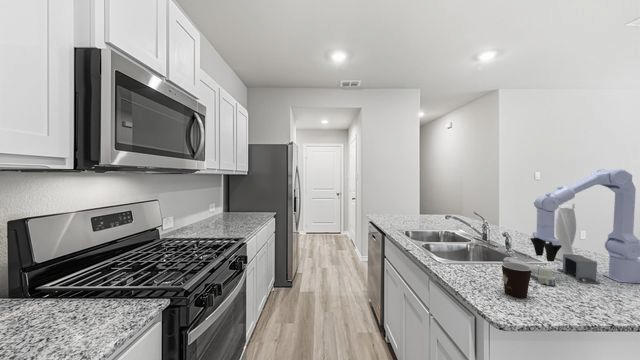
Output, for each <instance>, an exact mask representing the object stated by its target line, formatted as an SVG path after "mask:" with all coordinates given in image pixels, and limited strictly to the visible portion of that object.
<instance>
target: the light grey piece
mask: <svg viewBox="0 0 640 360" xmlns="http://www.w3.org/2000/svg"><path fill="white" fill-rule="evenodd" d="M505 262H511V263H519V264H523V265H526V266H529V267H531V268H532V270H531V274H535V275H536V276H535V277H536V278H537V282H538V283H539V284H540V285H544V284H546V285H547V286H556V280H557V277H556V276H554V273H553V270H552V269H551V268H550V267H544V266H543V267H541V266H539V265H535V264H532V263H529V262H526V261H522V260H520V259H517V258H515V257H509V256H504V257H503V258H502V263H505Z"/></svg>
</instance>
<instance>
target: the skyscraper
mask: <svg viewBox="0 0 640 360" xmlns="http://www.w3.org/2000/svg"><path fill="white" fill-rule="evenodd" d="M575 208H576V206H575V203H574V202H573V203H572V205H564V204H562V206H561V205H559V206H558V208H557V209H558V212H557V214H556V215H557V216H556V219H555V235H556V239H557V240H559V245H561V248H560V249H559V251H558V252H557V254H556V257H555V260H557V261H560V262H562V263H563V254H571V255H575V254H574V251H573V244H574V241H575V238H576V234H577V219H576V213H575Z"/></svg>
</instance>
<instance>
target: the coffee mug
mask: <svg viewBox="0 0 640 360" xmlns="http://www.w3.org/2000/svg"><path fill="white" fill-rule="evenodd" d="M501 270H502V271H501V272H502V280H503V289H504V294H505V295H506V296H508V297H510V298H513V299H519V300H523V299H524V300H525V299H527V298H528V292H529V286H530V281H531V276H532V275H531V274H532V273H531V270H532V268H531V267H529V266H526V265H523V264H519V263H511V262H505V263H503V262H501Z"/></svg>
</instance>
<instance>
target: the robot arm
mask: <svg viewBox="0 0 640 360" xmlns="http://www.w3.org/2000/svg"><path fill="white" fill-rule="evenodd" d="M597 185H600V186H603V187H606V188H607V189H609V190H610V191H612V192H613V193H614V194H615V195H614V210H613V211H614V212H613V225H612V232H610V233H609V234H607V239H606V241H605V242H604V248H605V250H606V251H607V252H608V255H609V260H608V273H602V276H605V277H606V278H608V279H611V280H613V281H616V282H618V283H631V284H640V239H639V238H638V237H637V236H636V235H635V234H634V226H635V225H634V224H635V209H636V208H635V207H636V194H637V193H636V190H637V189H636V187H635V184H634V182H633V174H632V173H630V172H629V171H627V170H625V169H621V168H620V169H605V168H604V169H603V168H602V169H598V170H596V171H593V172H591V173H590V174H589V175H587V176H585V177H584V178H582V179H580V180H579V181H576V182H574V183H573V184H571V185H570V186H567V185H564V186H558V187H556V188H557V189H555V190H553V191H551V192H547V193H545V195H541V196H538V197H537V198H536V199H535V201H534V202H533V205H534V208H536V231H534V232H533V231H532V237H530V241H531V243H532V245H533V248H534V252H535V255H536V256H541V257H542V256H543V255H544V250H545V255H546V261H547V262H555V260H556V259H555V257H556V254H557V252H558V251H559V249H560V248H561V245H559V240H557V237H555V222H556V219H555V217H556V216H555V215H556V213H555V212H556V210H557V209H559V208H558V206H559V205H560V206H561V205H564V204H565V203H567V202H569V201H571V200H573V199H574V198H575V196H576V194H578V193H580V192H583V191H585V190H586V189H589V188H592V187H594V186H597Z"/></svg>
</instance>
